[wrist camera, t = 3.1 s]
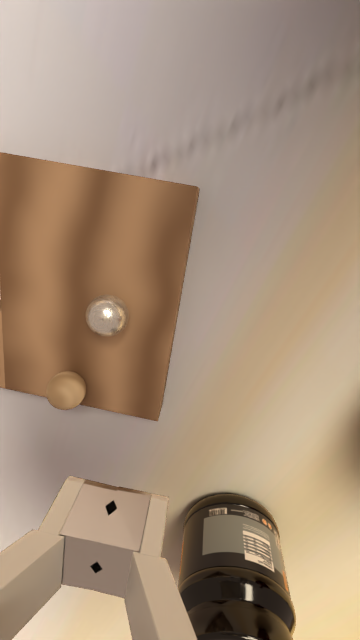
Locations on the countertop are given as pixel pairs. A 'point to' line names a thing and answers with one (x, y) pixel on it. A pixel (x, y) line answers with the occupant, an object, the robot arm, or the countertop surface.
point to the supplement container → (234, 572)
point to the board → (90, 278)
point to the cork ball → (66, 390)
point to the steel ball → (107, 315)
